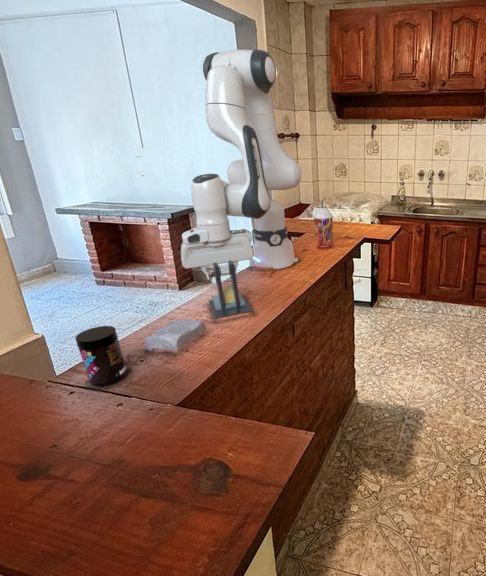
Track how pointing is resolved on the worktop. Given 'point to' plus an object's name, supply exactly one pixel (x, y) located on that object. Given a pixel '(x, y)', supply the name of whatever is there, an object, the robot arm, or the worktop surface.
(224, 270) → the arm
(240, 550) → the worktop surface
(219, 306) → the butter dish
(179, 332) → the stone block
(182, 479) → the worktop surface
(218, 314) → the butter cutter
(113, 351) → the supplement container
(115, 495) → the worktop surface
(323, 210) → the smoothie
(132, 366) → the worktop surface
